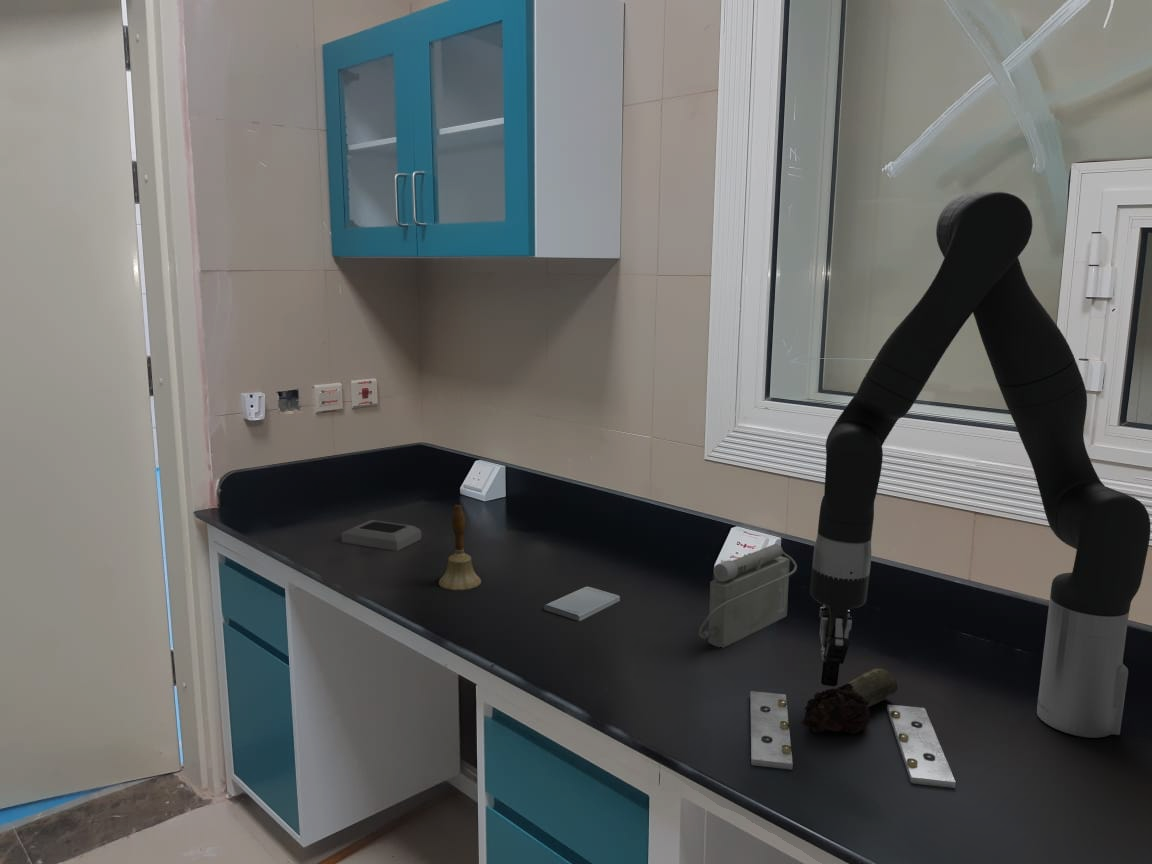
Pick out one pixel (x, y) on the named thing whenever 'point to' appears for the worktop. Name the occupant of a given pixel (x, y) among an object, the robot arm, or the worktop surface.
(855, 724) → the cylinder with dark lump
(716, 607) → the geiger counter
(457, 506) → the hand bell
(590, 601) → the hard drive
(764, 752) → the hinge leaves
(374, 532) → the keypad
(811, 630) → the worktop surface
